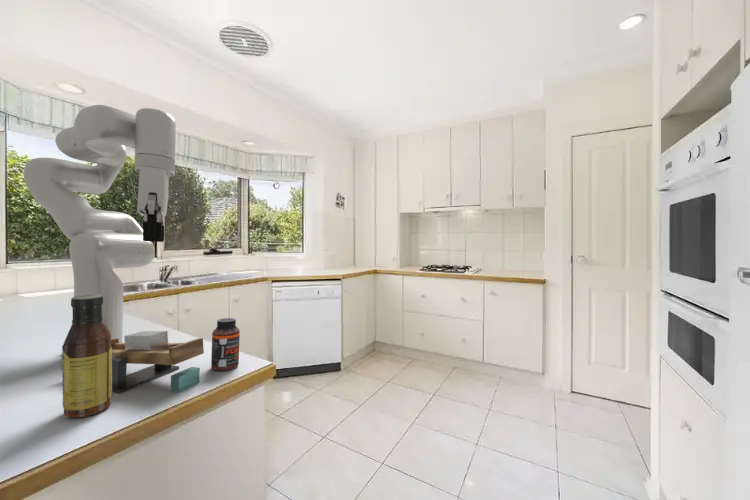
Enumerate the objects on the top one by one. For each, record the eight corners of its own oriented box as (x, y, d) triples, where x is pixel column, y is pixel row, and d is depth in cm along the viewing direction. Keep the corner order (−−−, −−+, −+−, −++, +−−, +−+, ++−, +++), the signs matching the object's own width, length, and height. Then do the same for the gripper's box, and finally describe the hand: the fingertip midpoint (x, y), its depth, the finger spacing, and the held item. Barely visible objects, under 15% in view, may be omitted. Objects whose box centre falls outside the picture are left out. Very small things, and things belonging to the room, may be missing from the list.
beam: (79, 374, 67) (77, 347, 67) (117, 361, 74) (116, 338, 74) (173, 378, 60) (171, 348, 60) (206, 363, 67) (204, 337, 67)
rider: (125, 355, 66) (124, 335, 66) (144, 349, 69) (143, 331, 69) (150, 355, 64) (149, 335, 64) (168, 349, 67) (167, 330, 68)
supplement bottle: (227, 373, 71) (229, 323, 71) (205, 370, 72) (206, 321, 72) (244, 363, 77) (245, 317, 76) (222, 361, 78) (223, 316, 78)
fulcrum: (61, 381, 64) (61, 353, 64) (126, 360, 77) (127, 336, 77) (159, 401, 57) (159, 370, 57) (214, 374, 70) (214, 348, 70)
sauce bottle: (84, 401, 56) (86, 292, 56) (120, 401, 57) (122, 293, 57) (49, 422, 50) (51, 298, 50) (91, 421, 50) (93, 299, 50)
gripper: (139, 171, 77) (138, 241, 77) (128, 154, 62) (127, 240, 62) (176, 176, 80) (174, 242, 81) (173, 160, 66) (172, 241, 66)
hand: (154, 241), depth 71 cm, fingers open, 9 cm apart
